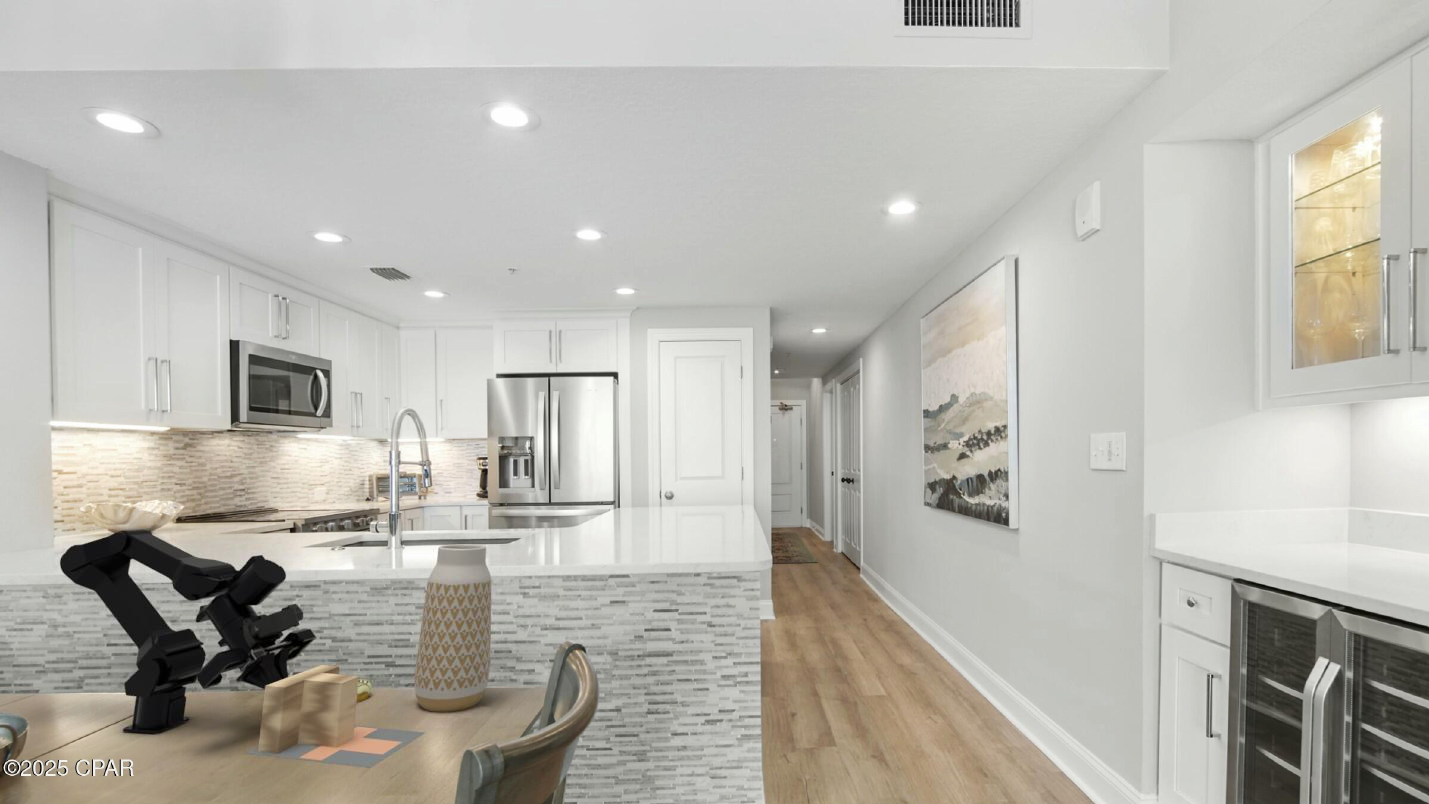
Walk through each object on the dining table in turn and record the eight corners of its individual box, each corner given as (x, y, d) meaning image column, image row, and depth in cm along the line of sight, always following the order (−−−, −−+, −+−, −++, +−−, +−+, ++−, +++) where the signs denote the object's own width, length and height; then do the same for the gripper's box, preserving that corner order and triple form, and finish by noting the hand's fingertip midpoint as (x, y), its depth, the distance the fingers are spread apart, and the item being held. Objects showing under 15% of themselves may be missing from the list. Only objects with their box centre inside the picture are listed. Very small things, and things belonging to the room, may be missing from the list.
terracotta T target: (298, 761, 100) (298, 757, 100) (357, 730, 113) (357, 726, 113) (364, 769, 98) (365, 765, 98) (416, 736, 111) (417, 732, 111)
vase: (502, 700, 130) (512, 546, 133) (448, 723, 117) (461, 552, 121) (452, 689, 135) (463, 541, 139) (395, 709, 123) (409, 546, 127)
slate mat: (243, 757, 101) (244, 753, 101) (312, 724, 115) (312, 720, 115) (369, 771, 97) (370, 767, 97) (425, 736, 111) (425, 732, 111)
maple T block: (258, 751, 102) (265, 685, 103) (316, 723, 113) (321, 664, 115) (316, 758, 100) (323, 691, 101) (369, 729, 112) (374, 669, 113)
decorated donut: (324, 715, 120) (326, 694, 120) (299, 702, 126) (301, 682, 126) (380, 700, 128) (382, 681, 128) (354, 689, 134) (355, 670, 135)
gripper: (221, 601, 102) (274, 679, 99) (312, 583, 121) (359, 648, 117) (173, 649, 103) (224, 728, 100) (270, 624, 121) (316, 690, 118)
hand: (287, 695), depth 109 cm, fingers closed
